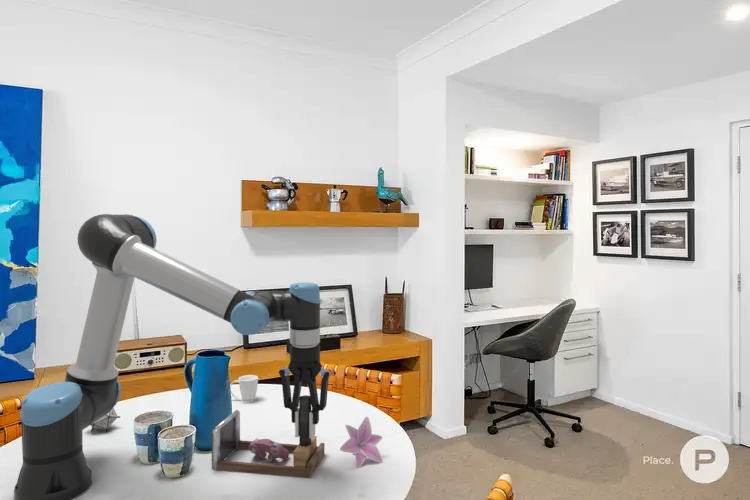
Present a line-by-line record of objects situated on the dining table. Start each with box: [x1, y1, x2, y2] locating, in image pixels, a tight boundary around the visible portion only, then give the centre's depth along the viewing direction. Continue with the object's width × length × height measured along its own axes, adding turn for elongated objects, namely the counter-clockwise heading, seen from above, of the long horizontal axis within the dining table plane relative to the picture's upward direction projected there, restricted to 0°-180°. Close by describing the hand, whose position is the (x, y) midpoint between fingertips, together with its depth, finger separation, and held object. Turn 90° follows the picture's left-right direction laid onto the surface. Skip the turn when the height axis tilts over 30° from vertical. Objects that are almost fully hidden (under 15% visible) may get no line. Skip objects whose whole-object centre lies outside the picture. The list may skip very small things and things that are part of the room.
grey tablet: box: [210, 409, 241, 471], centre depth 133 cm, size 14×2×11 cm, turn 171°
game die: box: [90, 407, 121, 433], centre depth 152 cm, size 9×8×10 cm
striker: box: [292, 394, 318, 467], centre depth 130 cm, size 10×3×17 cm, turn 171°
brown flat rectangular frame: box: [217, 439, 325, 479], centre depth 132 cm, size 13×24×3 cm, turn 81°
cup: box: [230, 374, 259, 404], centre depth 177 cm, size 7×10×8 cm
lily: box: [339, 416, 383, 469], centre depth 133 cm, size 12×12×10 cm
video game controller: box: [248, 438, 290, 462], centre depth 133 cm, size 10×5×7 cm, turn 69°
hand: (305, 435), depth 130 cm, fingers closed on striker, 3 cm apart
